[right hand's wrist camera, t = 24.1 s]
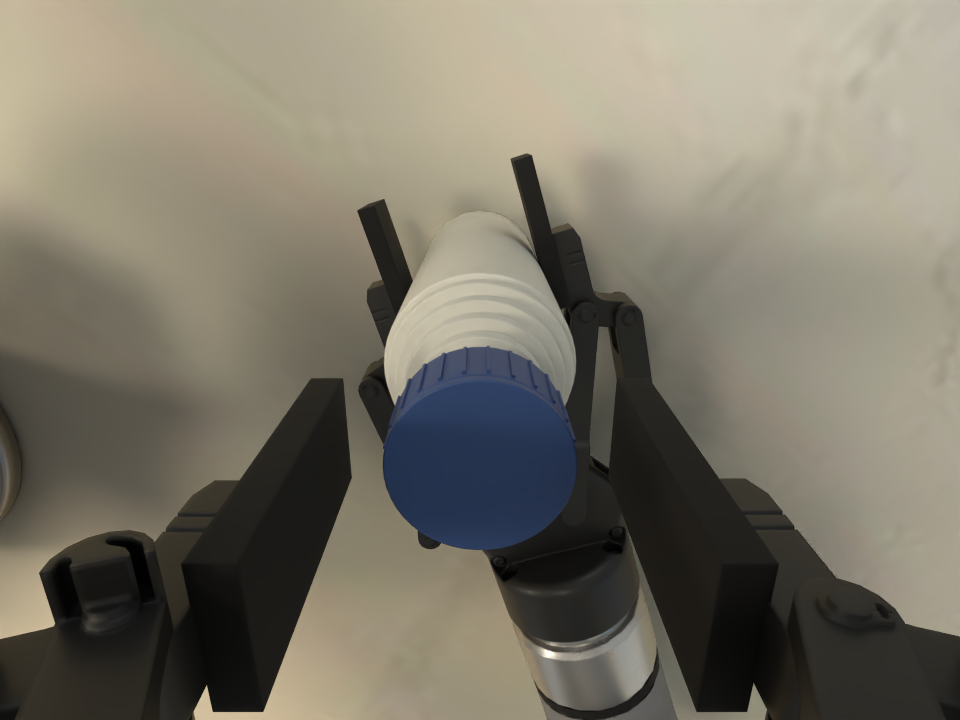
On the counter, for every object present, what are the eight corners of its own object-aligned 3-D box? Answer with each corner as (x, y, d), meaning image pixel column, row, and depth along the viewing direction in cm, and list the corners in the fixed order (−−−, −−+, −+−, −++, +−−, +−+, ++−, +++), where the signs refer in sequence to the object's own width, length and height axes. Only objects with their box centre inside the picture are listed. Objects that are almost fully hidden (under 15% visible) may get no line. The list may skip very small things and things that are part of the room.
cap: (431, 519, 16) (424, 574, 14) (365, 377, 14) (346, 416, 12) (587, 470, 15) (603, 520, 13) (534, 318, 14) (543, 349, 12)
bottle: (503, 333, 35) (535, 592, 15) (409, 289, 34) (310, 504, 14) (552, 240, 33) (662, 396, 13) (454, 191, 32) (411, 279, 12)
